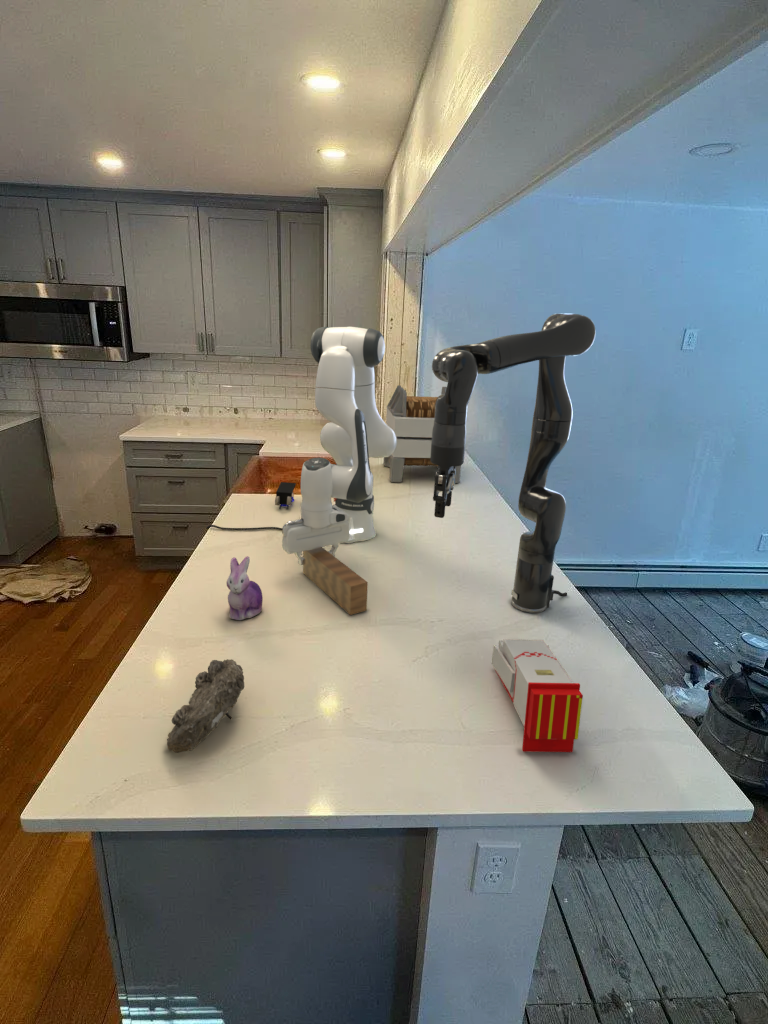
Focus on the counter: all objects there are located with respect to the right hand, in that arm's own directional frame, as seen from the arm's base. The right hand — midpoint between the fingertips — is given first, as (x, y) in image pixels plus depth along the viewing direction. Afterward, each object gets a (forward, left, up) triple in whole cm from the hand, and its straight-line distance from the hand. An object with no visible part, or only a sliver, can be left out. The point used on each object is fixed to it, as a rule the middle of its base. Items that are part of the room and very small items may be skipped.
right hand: (442, 511), depth 131 cm
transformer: (-53, -131, -31) cm, 145 cm away
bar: (+19, -26, -31) cm, 45 cm away
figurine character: (+18, -99, -31) cm, 106 cm away
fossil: (+54, +18, -31) cm, 65 cm away
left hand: (+21, -36, -26) cm, 49 cm away
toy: (-6, +32, -31) cm, 45 cm away
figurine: (+43, -20, -31) cm, 57 cm away
